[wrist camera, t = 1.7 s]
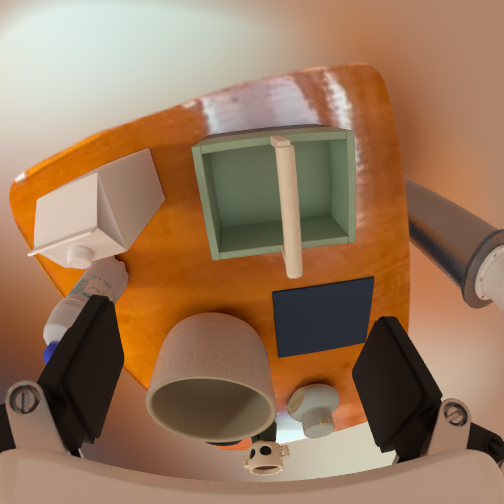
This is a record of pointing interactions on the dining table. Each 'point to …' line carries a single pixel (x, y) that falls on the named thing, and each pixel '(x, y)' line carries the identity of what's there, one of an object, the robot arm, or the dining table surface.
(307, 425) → the air freshener
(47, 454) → the robot arm
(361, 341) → the mat
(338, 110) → the dining table surface
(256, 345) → the planter
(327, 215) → the box
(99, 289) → the bottle
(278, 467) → the character mug
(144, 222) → the milk carton
